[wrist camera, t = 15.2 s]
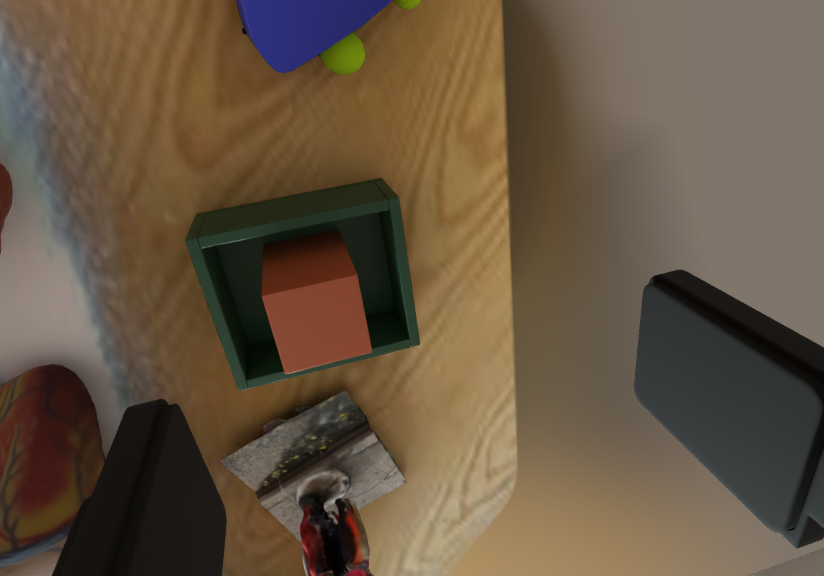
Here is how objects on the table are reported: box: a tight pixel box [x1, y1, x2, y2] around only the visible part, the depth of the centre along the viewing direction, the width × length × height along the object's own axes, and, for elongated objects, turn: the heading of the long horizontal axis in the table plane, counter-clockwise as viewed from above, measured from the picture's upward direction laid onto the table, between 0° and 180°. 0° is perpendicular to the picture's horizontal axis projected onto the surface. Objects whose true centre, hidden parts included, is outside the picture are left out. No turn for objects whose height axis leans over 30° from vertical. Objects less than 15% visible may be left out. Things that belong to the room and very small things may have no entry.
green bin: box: [185, 178, 420, 391], centre depth 29 cm, size 11×9×4 cm
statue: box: [220, 390, 407, 576], centre depth 32 cm, size 11×9×15 cm
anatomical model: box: [0, 364, 105, 576], centre depth 32 cm, size 9×13×15 cm
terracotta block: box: [262, 229, 372, 374], centre depth 28 cm, size 4×4×7 cm
